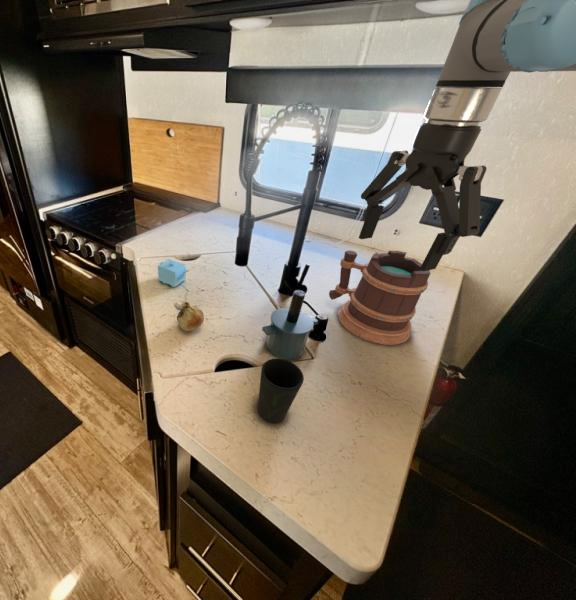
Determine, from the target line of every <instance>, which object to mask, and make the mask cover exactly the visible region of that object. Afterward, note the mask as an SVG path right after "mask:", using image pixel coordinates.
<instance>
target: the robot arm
mask: <svg viewBox="0 0 576 600" xmlns="http://www.w3.org/2000/svg"><path fill="white" fill-rule="evenodd" d="M511 72H512V73H513V72H515V73H516V72H517V73H518V72H523V73H535V72H539V73H546V72H576V0H469V2H468V4H467V6H466V9H465V11H464V13H463V15H462V16H461V17H460V21H459V24H458V27H457V31H456V33H455V36H454V38H453V41H452V43H451V46H450V48H449V51H448V54H447V56H446V59H445V61H444V64H443V66H442V69H441V72H440V74H439V76H438V80H437V82H436V85H435V87H434V90H433V92H432V94H431V97H430V100H429V102H428V105H427V107H426V109H425V112H424V115H423V118H424V119H425V120H426V121H425V122H422V123H421V124H420V125H419V126H418V129H417V132H416V134H415V136H414V138H413V141H412V145H411V149H412V150H411V152H410V153H409V151H408V150H395V151H392V153H391V155H390V157H389V159H388V161H387V163H386V165H384V167H382V169H381V170H380V171H379V173H378V174H377V175H375V177H374V179H373V180H372V181H371V182H370V184H368V186H367V187H366V189H364V190H363V191H362V193H361V195H360V198H361V199H362V200H365V201H366V204H367V205H366V208H365V211H364V214H363V216H362V221H364V222H363V225H362V227H361V229H360V233H359V235H358V239H359V240H366V239H373V236H374V233H375V231H376V229H377V226H378V224H379V221H380V219H381V216H382V213H383V211H384V208H385V206H384V205H383V204H384V202H385V201H386V200H388V199H390V198H391V197H393V196H394V195H396V194H397V193H398V192H400V191H401V190H402V189H404V188H405V187H407V186H409V185H410V186H412V187H420V188H421V189H423V190H426V191H428V190H429V191H431V195H433V196H434V198H435V201H436V205H437V209H438V212H439V216H440V220H441V224H442V228H443V232H438V233H437V235H436V237H435V238H434V241H433V242H432V244H431V246H430V248H429V250H428V251H427V254H426V255H425V257H424V260H423V261H422V263H421V264H422V265H421V267H420V270H422V271H427V270H429V271H432V270H436V269H437V267H438V265H439V263H440V262H441V260H442V258H443V256H445V255H449V254H450V253H451V252H452V251H453V249H454V248H455V246H456V245H457V242H458V241H459V239H460V237H461V238H465V237H471V236H472V237H473V236H476V235H478V234H479V233H480V231H481V230H480V229H481V201H482V200H481V198H482V195H481V194H482V182H483V179H484V177H485V174H486V172H487V166H486V165H484V164H483V165H473V166H472V165H465V159H466V158H467V156H468V155H469V153H470V152H471V151H472V149H473V147H474V145H475V143H476V141H477V140H478V138H479V135H480V134H481V131H482V126H480V125H479V124H480V123H483V122H485V121H487V120H488V118H489V116H490V113H491V112H492V109H493V108H494V106H495V103H496V101H497V100H498V97H499V95H500V93H501V91H502V90H503V87H504V85H506V81H507V80H508V77H509V76H510V74H511ZM403 166H405V171H403V172H401V174H399V175H398V176H397V177H396V178H395V179H394V180H392V179H393V178H394V177H395V175H396V174H397V173H398V172H399V171H400V170H401V168H402V167H403ZM458 176H459V177H458ZM456 177H458V180H459V181H460V184H459V198H458V199H459V200H458V199H457V194H456V191H457V186H456V184H455V178H456ZM391 180H392V181H391ZM390 181H391V182H390ZM389 182H390V183H389ZM388 183H389V184H388ZM458 201H459V202H458Z"/></svg>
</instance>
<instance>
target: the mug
mask: <svg viewBox="0 0 576 600" xmlns="http://www.w3.org/2000/svg"><path fill="white" fill-rule="evenodd" d="M406 255H407V252H406V251H402V250H388V252H387V253H385V252H383V253H378V252H375V253H373V254H372V256H371V258H370V259H369V262H367V263H363V264H362V263H358V262H356V258H358V253H357V252H356V251H354V250H346V251H344V255H343V257H342V258H340V263H339V265H340V274H339V283H337V284H336V285H335V288H334V289H331V290H329V291H328V296H329V298H330V300H333V301H334V300H336V299H339V298H341V297H342V296H344V295H346V294H347V295H348V297H349V299H348V300H347V301H346V302H344V304H343V305H342V306H341V307H340V308H339V310H338V313H337V317H338V321H339V322H340V324H341V325H342V327H344V328H345V329H346V330H347V331H349V332H350V333H351V334H353V335H354V336H357V337H358V338H361V339H362V340H366V341H369V342H371V343H374V344H379V345H380V344H381V345H387V346H388V345H389V346H390V345H399V344H402V343H405V342H407V341H408V339H409V338H410V337H411V329H412V321H411V320H412V319H413V317H415V314H416V313H417V311H416V309H417V308H416V306H417V304H418V302H419V300H420V298H421V295H422V294H423V293H424V292H425V291H426V290H427V289H428V286H429V278H430V276H431V270H427V271H422V270H420V267H421V265H422V263H421V262H419V261H418V260H417V259H415V258H411V257H406ZM352 269H356V270H359V271H360V272H361V275H362V276H361V278H360V280H359V282H358V284H357V286H356V288H349V286H350V279H351V273H352Z"/></svg>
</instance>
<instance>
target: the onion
mask: <svg viewBox="0 0 576 600" xmlns="http://www.w3.org/2000/svg"><path fill="white" fill-rule="evenodd" d="M173 307H174V308H175V309H176V310H177V311H178V314H177V316H176V321H177V323H178V326H179V327H180V329H182V331H183V330H184V331H185V332H193V331H196V330H199V329H200V327H201V326H202V325H203V323H204V321H205V314H204V312H203V309H201V308H199V307H198V306H196V305H192V306H191V304H190V302H189V301H184V302H182V303H181V305H180V304H178V302H174V303H173Z"/></svg>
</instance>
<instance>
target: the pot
mask: <svg viewBox="0 0 576 600" xmlns="http://www.w3.org/2000/svg"><path fill="white" fill-rule="evenodd" d="M308 316H309V317H310V318H311V319H312V321H313V324H314V325H313V326H315V325H318V324H319V320H318V319H317V318H316V317H315V316H314V315H308ZM261 331H262V332H263V333H264V334H265V335H266V336H267V338H266V348H267V350H268V351H269V353H271V354H272V355H273V356H275V357H277V358H278V359H284V360H288V361H291V360H296V359H299V358H300V357H301V356H302V355H303V353H304V351H305V348H306V345H307V341H308V339H309V336H310V333H311V331H310V332H309V333H307V334H303V335H292V334H288V333H285V332H282V331H281V330H279V329H277V328H276V327H275V326H274V325H273V324H272V322H271V321H270V325H269V324H268V325H264V326H262V328H261Z"/></svg>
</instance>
